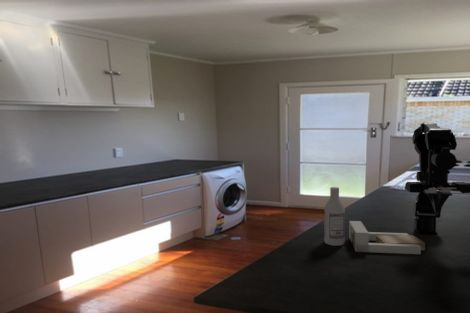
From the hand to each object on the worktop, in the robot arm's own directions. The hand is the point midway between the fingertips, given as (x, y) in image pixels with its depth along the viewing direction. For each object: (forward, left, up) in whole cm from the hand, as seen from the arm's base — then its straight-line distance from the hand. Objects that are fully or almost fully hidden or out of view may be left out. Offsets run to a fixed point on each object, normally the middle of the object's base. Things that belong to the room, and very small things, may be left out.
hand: (436, 212), depth 116 cm
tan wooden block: (+11, 0, -12) cm, 17 cm away
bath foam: (+33, -1, -12) cm, 35 cm away
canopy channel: (+18, 0, -12) cm, 22 cm away
